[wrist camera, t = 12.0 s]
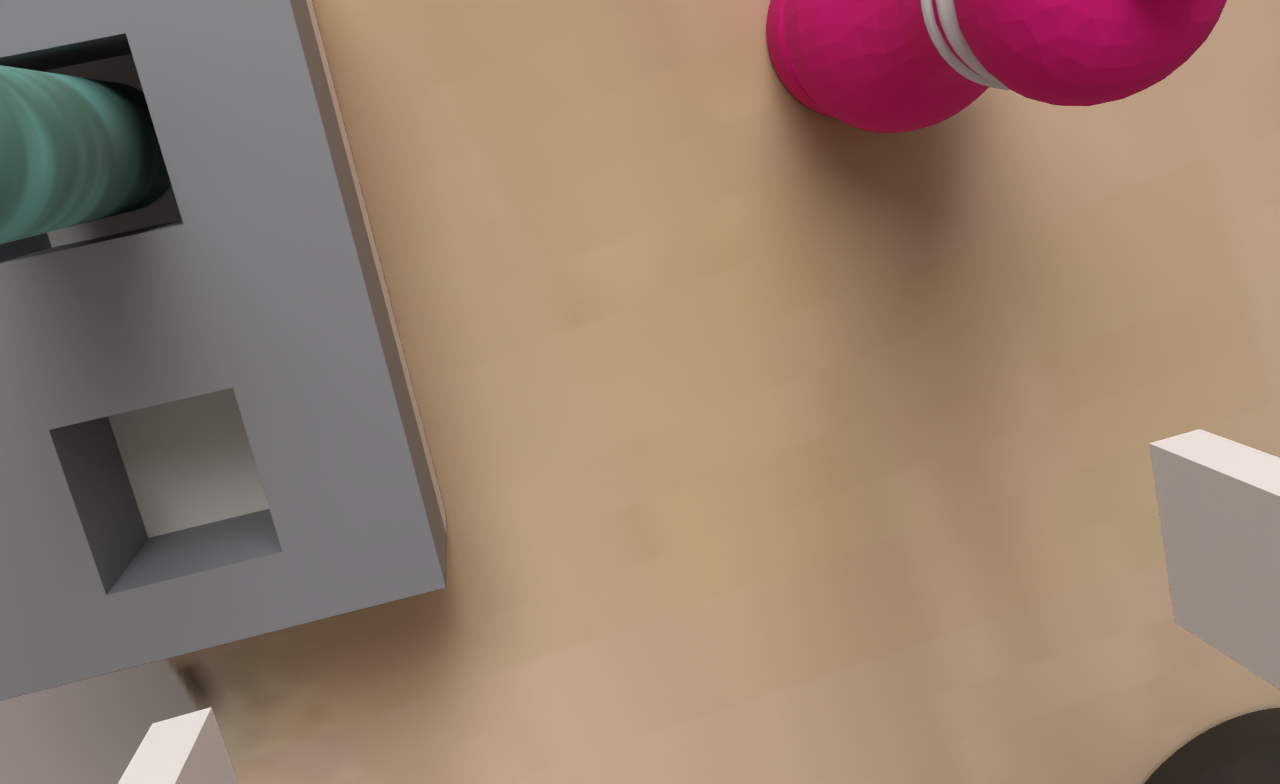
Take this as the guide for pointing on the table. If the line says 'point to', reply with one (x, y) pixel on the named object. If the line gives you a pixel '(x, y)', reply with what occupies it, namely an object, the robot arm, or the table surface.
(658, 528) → the table surface
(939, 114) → the pepper mill
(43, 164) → the pin
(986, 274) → the table surface
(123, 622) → the hole block
